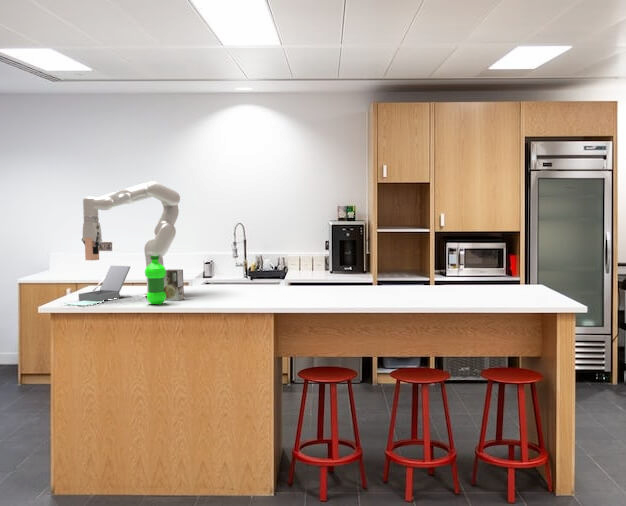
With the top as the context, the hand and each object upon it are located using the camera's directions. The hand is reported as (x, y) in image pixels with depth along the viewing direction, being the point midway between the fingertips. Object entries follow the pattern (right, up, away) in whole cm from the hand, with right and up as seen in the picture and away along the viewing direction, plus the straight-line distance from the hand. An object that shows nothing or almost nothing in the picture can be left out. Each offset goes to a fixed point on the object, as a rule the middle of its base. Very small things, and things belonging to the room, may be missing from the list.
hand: (92, 253), depth 385 cm
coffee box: (+44, -25, +1) cm, 50 cm away
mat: (-2, -26, -7) cm, 28 cm away
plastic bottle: (+38, -26, -14) cm, 48 cm away
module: (0, -3, 0) cm, 4 cm away
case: (+4, -25, +11) cm, 27 cm away
